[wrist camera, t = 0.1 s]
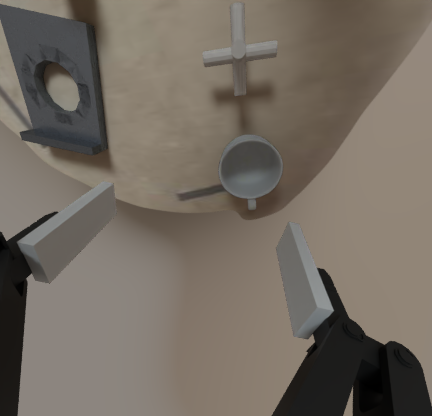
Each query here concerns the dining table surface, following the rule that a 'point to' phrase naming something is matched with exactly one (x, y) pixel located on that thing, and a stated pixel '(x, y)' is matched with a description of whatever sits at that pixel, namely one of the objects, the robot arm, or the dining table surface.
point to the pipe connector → (239, 50)
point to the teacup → (250, 168)
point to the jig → (70, 60)
